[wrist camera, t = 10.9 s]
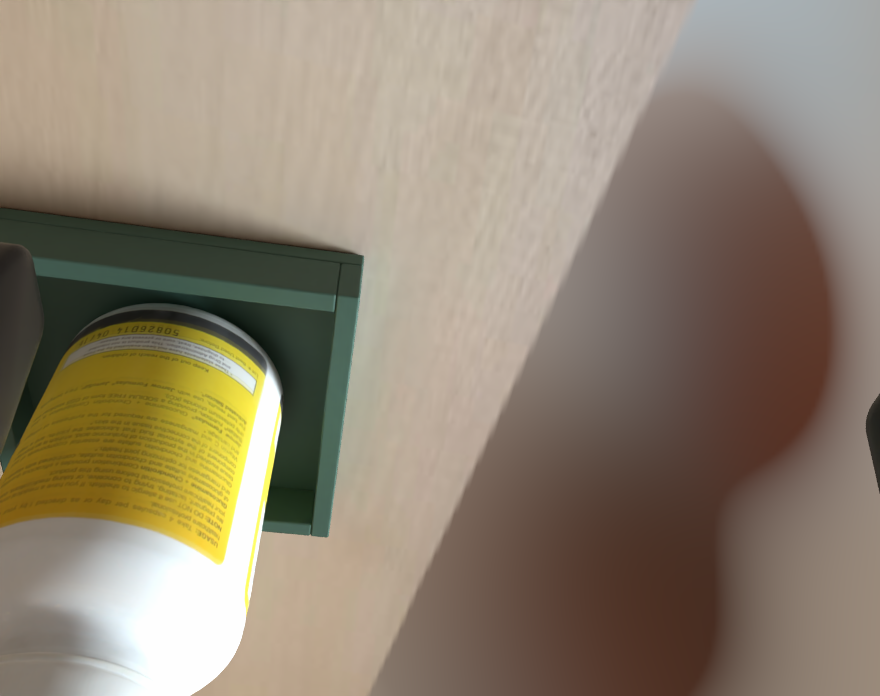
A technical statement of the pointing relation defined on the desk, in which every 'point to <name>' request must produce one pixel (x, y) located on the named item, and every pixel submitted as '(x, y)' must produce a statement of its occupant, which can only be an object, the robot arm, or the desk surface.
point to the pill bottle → (137, 508)
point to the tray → (227, 296)
